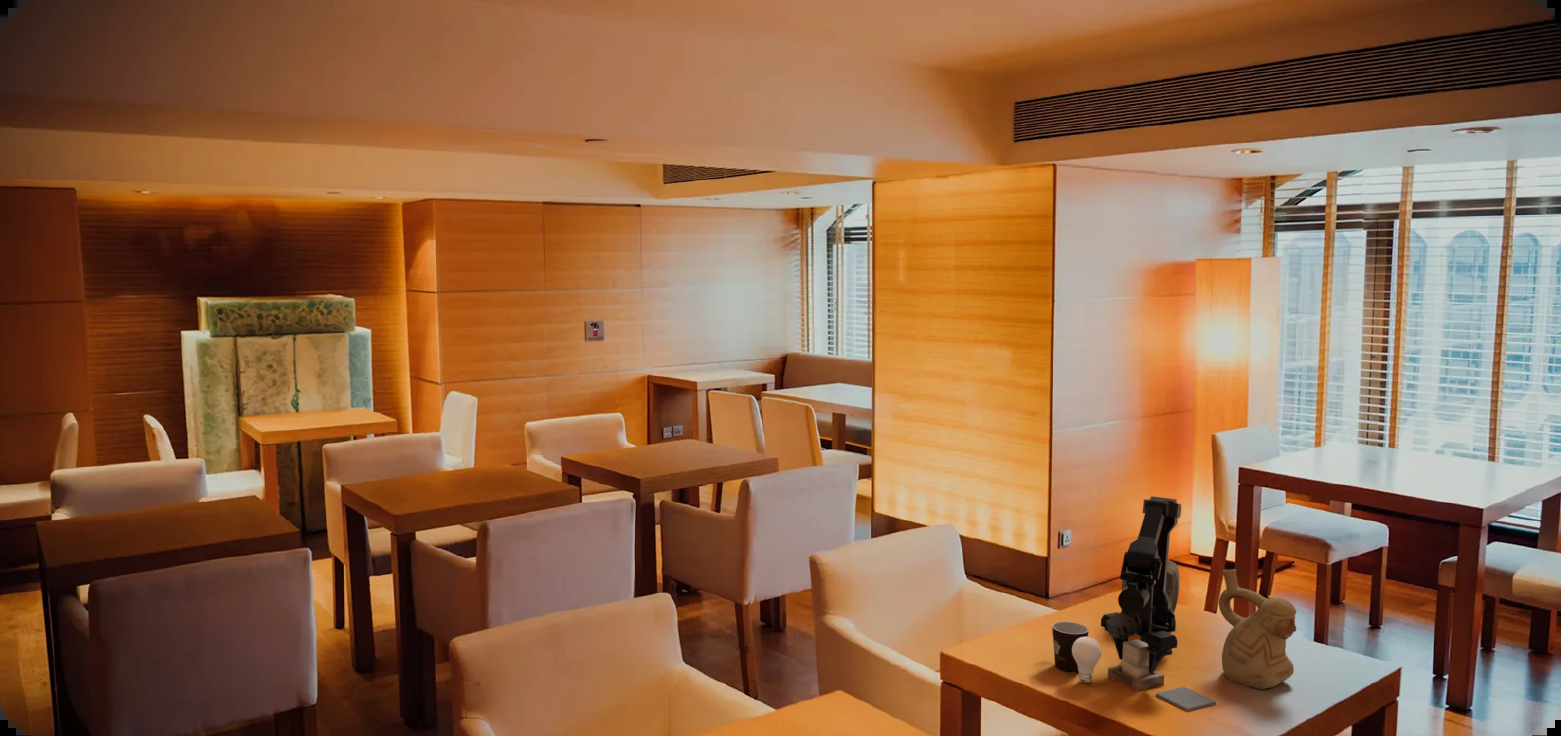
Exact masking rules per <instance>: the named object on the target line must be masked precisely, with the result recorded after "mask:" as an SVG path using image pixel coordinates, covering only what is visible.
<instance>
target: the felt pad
mask: <svg viewBox="0 0 1561 736" xmlns="http://www.w3.org/2000/svg"><path fill="white" fill-rule="evenodd" d="M1155 697H1157V698H1159V699H1161V700H1164V701H1165V702H1168V703H1170V704H1172V705H1174V706H1175V707H1177V708H1180V709H1182V710H1184V711H1186V712H1191V711H1193V710H1199V709H1202V708H1205V707H1210V706H1213V705H1217V700H1214V699H1212V698H1209V697H1207V696H1205V695H1203V694H1200V693H1199V692H1197V691H1194V690H1192V689H1190V688H1188V687H1186V686H1180V687H1176V688H1173V689H1169V690H1164V691H1160V692H1156V693H1155Z"/></svg>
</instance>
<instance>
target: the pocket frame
mask: <svg viewBox="0 0 1561 736" xmlns="http://www.w3.org/2000/svg"><path fill="white" fill-rule="evenodd" d="M1107 678H1109V679H1111V680H1112V681H1115V682H1118V683H1120V684H1122V685H1123V686H1126V687H1128V688H1130V689H1132V690H1134V691H1141V690H1145V689H1150V688H1153V687H1158V686H1163V685H1164V684H1165V674H1164V673H1160V672H1158V671H1156V670H1155V671H1154V673H1150V676H1146V677H1142V678H1138V679H1136V678H1134V677H1132V676H1129V675H1127V674H1125V673H1123V672H1122V664H1120V665H1115V666H1110V667H1108V668H1107Z"/></svg>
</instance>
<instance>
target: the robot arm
mask: <svg viewBox="0 0 1561 736" xmlns="http://www.w3.org/2000/svg"><path fill="white" fill-rule="evenodd" d="M1142 514H1143V519H1142V523H1141V526H1140V530H1139V533H1138V536H1137V538H1136V539H1135V540H1133V541H1132V542H1130V544H1129V547H1128V549H1127V551H1125V552H1124V555H1123V560H1122V565H1121V571H1120V576H1119V580H1127V584H1126V587H1125V588H1124V590H1123V591H1122V590H1121V591H1120V593H1119V595H1118V597H1117V602H1118V606H1119V608H1120V609H1121V611H1120V612H1118V611H1117V612H1112V613H1111V612H1110V613H1105V614H1103V615H1102V617H1101V618H1100V627H1102V628H1104V631H1106V633H1108V634H1109V636H1111V637H1112V640H1113V642H1114V645H1115V648H1116V652H1117V655H1118V658H1119V660H1121V661H1122V656H1123V642H1126V641H1129V639H1130V638H1129V637H1133V636H1135V635H1137V636H1140V638H1139V640H1140V641H1142V642H1145V643H1147V644H1148V646H1147V647H1146V649H1147V650H1148V652H1149V673H1154V671H1156V669H1157V667H1158V666H1159V664H1160V663H1161V661H1162V659H1163V658H1164V657H1165V656H1166V655H1169V654H1172V653H1173V649H1176V648H1178V637H1177V636H1176V635H1175V634H1172V632H1176V628H1177V622H1176V615H1175V611H1174V612H1173V609H1171V599H1170V598H1169V596H1168V594H1167V592H1166V579H1167V566H1168V560H1169V551H1170V537H1171V536H1170V535H1171V532H1172V531H1173V530H1174V529H1175V527H1176V526H1177V524H1178V521H1179V519H1180V518H1181V514H1182V504H1181V503H1178V501H1177V499H1176V498H1168V497H1161V496H1155V495H1153V496H1150V498H1147V499H1143V506H1142ZM1127 567H1128V572H1132V573H1136V574H1132V573H1126V570H1127ZM1125 573H1126V575H1125ZM1168 623H1169V624H1168Z"/></svg>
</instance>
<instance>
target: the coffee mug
mask: <svg viewBox="0 0 1561 736" xmlns="http://www.w3.org/2000/svg"><path fill="white" fill-rule="evenodd" d="M1051 629H1052V630H1051V631H1052V642H1053V643H1052V644H1053V655H1054V656H1053V657H1054V667H1055V668H1056V669H1057V670H1059V671H1061V672H1063V673H1064V672H1065V673H1069V672H1070V674H1072V673H1073V674H1074V673H1079V671H1078V665H1077V663H1076V661H1075V659H1074V657H1073V654H1072V646H1073V644H1074V642H1075V641H1076V640H1077V639H1078V638H1080V637H1089V630H1090V629H1089V628H1088V627H1087V626H1086V625H1084V624H1081V623H1079V622H1078V623H1077V622H1074V621H1058V622H1054V623H1052V624H1051Z"/></svg>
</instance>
